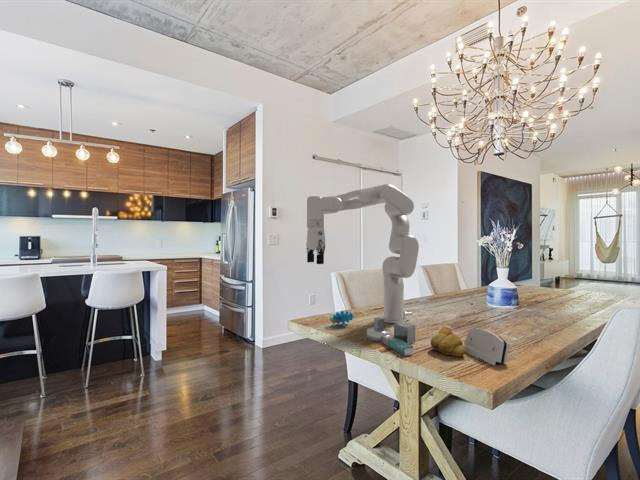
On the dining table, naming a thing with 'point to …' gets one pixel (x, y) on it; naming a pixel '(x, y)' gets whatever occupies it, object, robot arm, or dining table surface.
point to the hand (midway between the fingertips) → (315, 263)
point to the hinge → (486, 346)
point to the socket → (405, 332)
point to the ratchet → (388, 338)
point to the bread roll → (447, 343)
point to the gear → (341, 318)
